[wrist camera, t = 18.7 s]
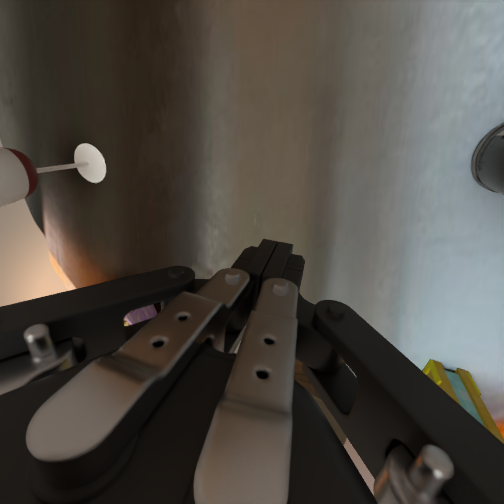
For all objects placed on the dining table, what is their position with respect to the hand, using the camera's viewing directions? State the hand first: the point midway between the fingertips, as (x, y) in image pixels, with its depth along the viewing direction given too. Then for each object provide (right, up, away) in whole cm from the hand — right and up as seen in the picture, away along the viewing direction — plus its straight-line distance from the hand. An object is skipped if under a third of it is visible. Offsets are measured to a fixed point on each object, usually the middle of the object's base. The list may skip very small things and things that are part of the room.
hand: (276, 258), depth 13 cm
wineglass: (-34, +18, +40) cm, 55 cm away
